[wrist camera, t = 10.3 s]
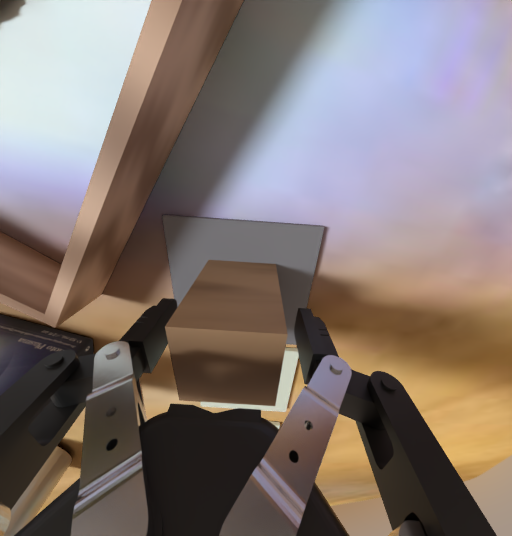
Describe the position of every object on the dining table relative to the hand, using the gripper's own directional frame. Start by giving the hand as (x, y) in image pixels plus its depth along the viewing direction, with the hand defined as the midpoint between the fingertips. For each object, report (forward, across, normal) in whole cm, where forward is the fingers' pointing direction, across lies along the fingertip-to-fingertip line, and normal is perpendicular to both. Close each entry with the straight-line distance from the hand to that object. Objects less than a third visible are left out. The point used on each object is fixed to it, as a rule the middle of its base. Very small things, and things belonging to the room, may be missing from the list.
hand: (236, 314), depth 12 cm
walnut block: (+3, 0, 0) cm, 3 cm away
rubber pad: (+3, 0, 0) cm, 3 cm away
